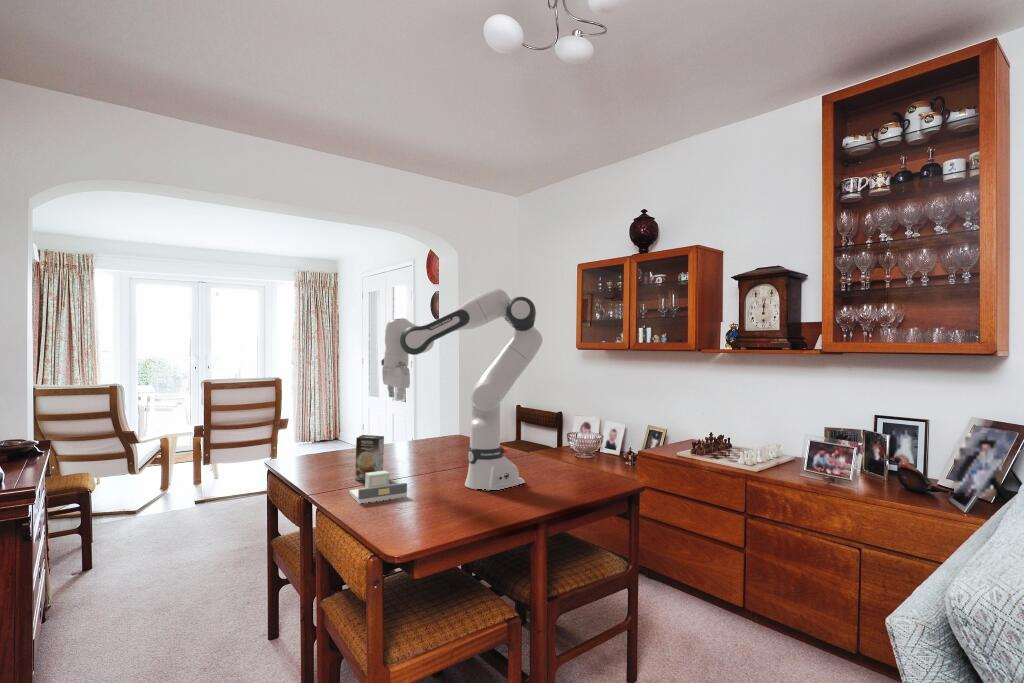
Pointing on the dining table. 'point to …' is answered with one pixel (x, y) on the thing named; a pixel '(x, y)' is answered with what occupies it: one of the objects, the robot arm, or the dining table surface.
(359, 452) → the coffee box
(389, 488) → the shelf board
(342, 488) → the dining table surface
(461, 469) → the dining table surface
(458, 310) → the robot arm
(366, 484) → the carton
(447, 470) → the dining table surface
